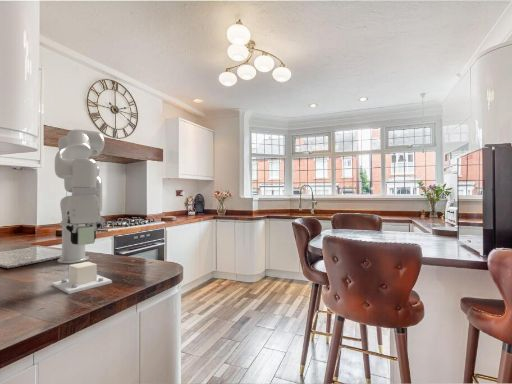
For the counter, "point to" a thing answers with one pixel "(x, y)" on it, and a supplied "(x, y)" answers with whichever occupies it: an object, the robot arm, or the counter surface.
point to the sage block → (85, 235)
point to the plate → (73, 288)
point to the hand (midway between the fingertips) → (83, 242)
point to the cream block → (82, 273)
